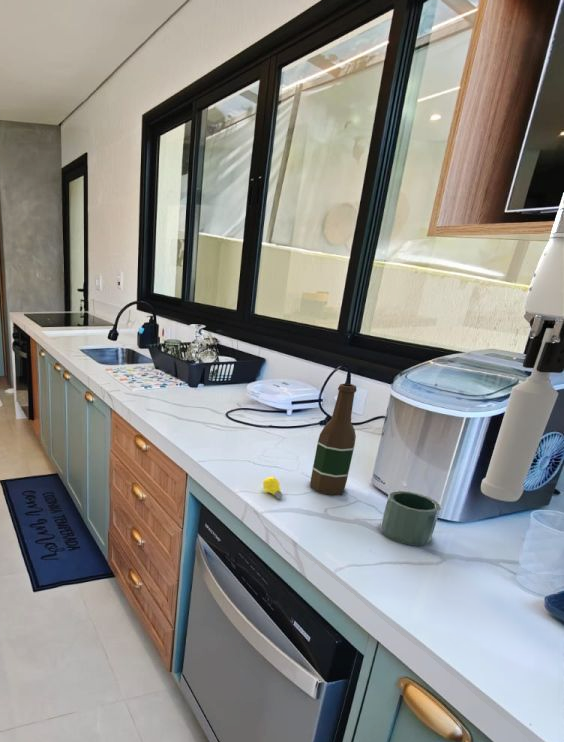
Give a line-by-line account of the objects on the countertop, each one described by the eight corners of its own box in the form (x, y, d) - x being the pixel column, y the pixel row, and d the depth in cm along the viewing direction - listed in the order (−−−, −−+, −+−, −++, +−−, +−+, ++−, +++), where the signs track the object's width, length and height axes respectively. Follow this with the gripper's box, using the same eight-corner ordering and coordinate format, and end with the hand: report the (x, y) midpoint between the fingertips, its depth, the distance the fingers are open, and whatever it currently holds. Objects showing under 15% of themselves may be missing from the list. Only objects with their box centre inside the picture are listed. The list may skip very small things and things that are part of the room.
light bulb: (268, 486, 114) (277, 474, 112) (282, 504, 110) (291, 492, 108) (257, 484, 113) (265, 472, 111) (270, 502, 108) (279, 490, 106)
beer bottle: (302, 486, 115) (320, 383, 106) (320, 478, 119) (340, 379, 111) (333, 499, 109) (356, 391, 100) (352, 490, 114) (375, 386, 105)
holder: (417, 524, 100) (426, 492, 97) (438, 547, 92) (449, 513, 89) (373, 521, 100) (381, 489, 98) (391, 543, 93) (400, 510, 90)
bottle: (480, 484, 81) (532, 325, 72) (520, 494, 78) (580, 329, 69) (477, 495, 77) (531, 328, 68) (519, 505, 74) (582, 333, 65)
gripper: (683, 222, 56) (618, 384, 63) (574, 229, 71) (531, 360, 78) (611, 221, 57) (554, 382, 63) (518, 228, 71) (480, 358, 78)
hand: (542, 368), depth 70 cm, fingers closed on bottle, 2 cm apart
